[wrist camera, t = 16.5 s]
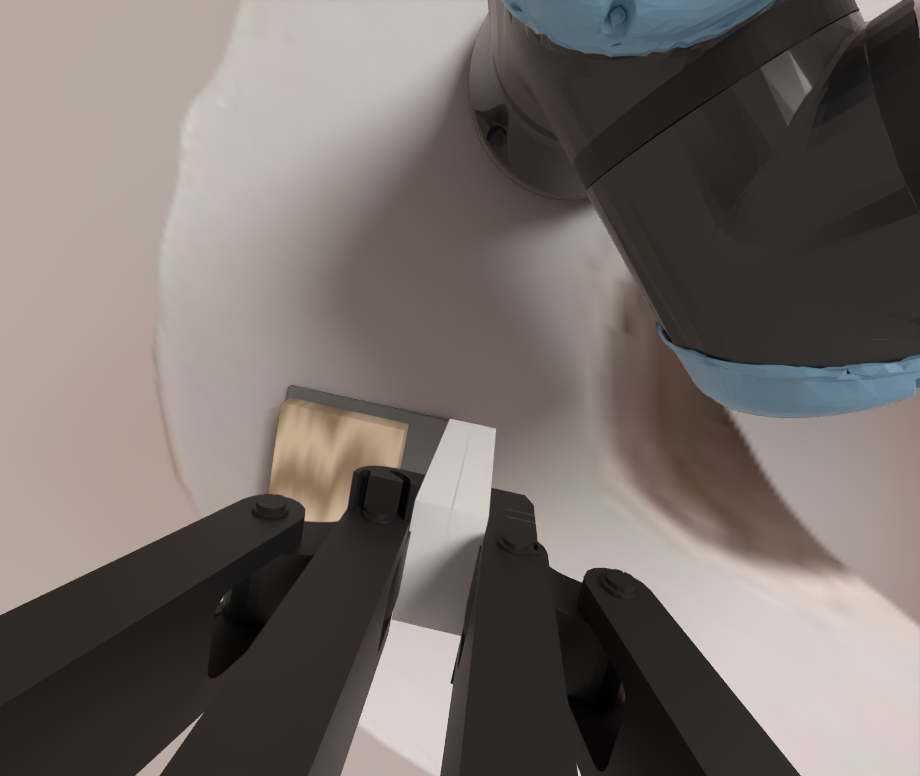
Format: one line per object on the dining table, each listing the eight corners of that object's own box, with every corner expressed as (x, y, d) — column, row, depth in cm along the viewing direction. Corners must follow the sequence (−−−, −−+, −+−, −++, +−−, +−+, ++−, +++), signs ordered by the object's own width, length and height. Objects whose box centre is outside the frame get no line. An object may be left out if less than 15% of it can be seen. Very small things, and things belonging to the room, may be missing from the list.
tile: (408, 423, 44) (290, 397, 44) (404, 430, 42) (281, 402, 42) (383, 555, 46) (271, 529, 47) (378, 567, 45) (261, 540, 45)
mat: (291, 385, 45) (288, 386, 44) (455, 421, 44) (455, 423, 44) (269, 537, 48) (266, 540, 47) (423, 573, 47) (422, 577, 47)
